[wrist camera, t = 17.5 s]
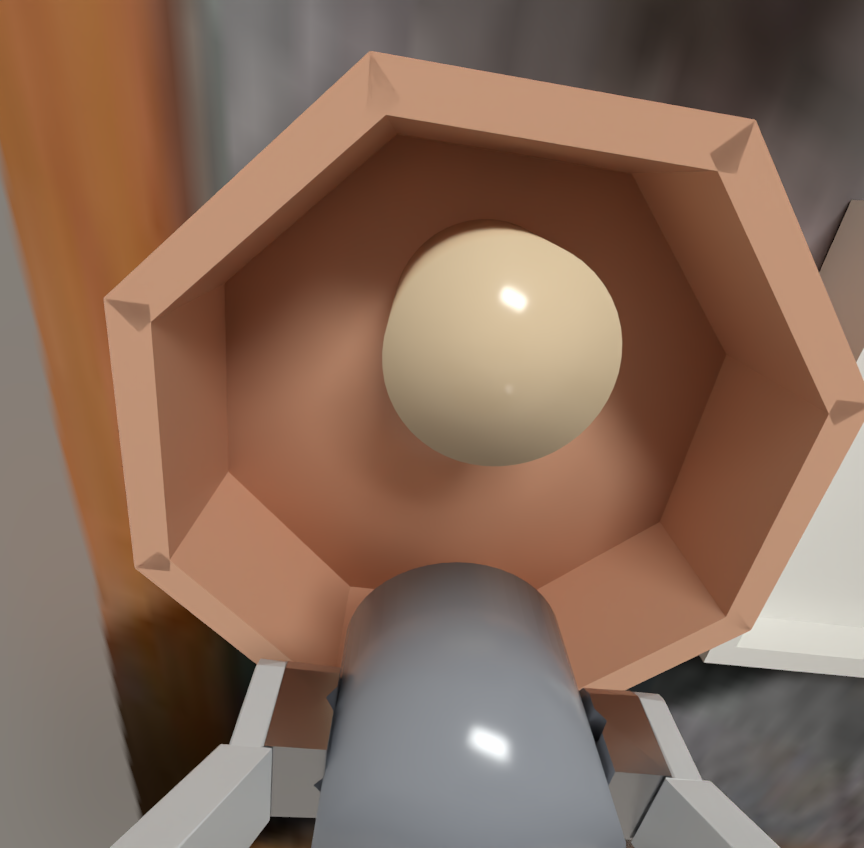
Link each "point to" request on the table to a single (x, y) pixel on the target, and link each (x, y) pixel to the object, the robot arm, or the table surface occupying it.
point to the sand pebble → (499, 344)
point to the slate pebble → (461, 723)
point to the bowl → (430, 470)
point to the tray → (822, 527)
